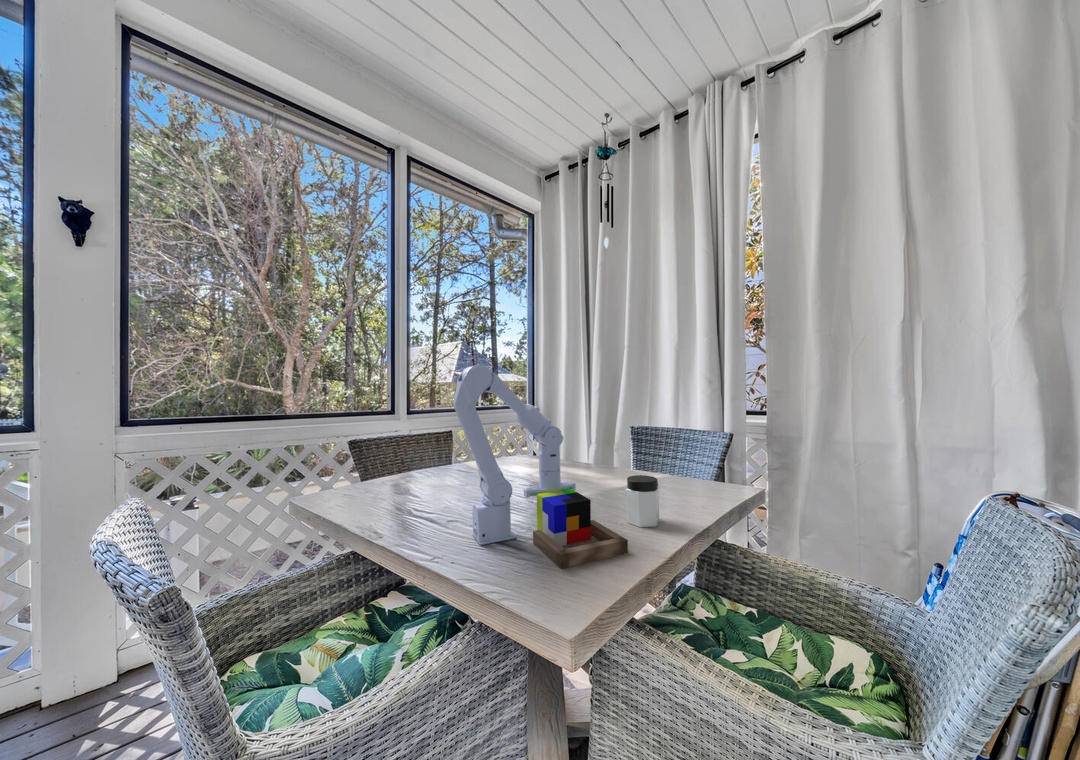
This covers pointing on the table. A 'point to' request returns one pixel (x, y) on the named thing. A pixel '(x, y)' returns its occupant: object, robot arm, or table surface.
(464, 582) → the table surface
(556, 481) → the robot arm
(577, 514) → the puzzle toy
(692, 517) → the table surface
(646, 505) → the jar
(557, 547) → the walnut frame
